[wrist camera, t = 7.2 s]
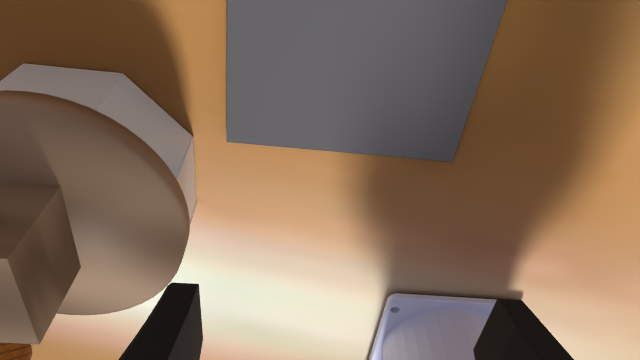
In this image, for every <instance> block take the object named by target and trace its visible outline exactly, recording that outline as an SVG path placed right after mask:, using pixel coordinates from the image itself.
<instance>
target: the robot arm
mask: <svg viewBox="0 0 640 360" xmlns="http://www.w3.org/2000/svg"><path fill="white" fill-rule="evenodd" d="M202 341H203V334H202V321H201V308H200V295H199V284H187V283H171V284H170V285H168V286H167V288H166V290H165V291H164V293H163V295H162V297H161V298H160V300H159V301H158V303H157V305H156V306H155V308H154V309H153V311H152V313H151V314H150V316H149V317H148V319H147V320H146V322H145V323H144V325H143V326H142V328H141V329H140V330H139V332H138V333H137V335H136V336H135V338H134V339H133V340H132V342H131V343H130V345H129V346H128V347H127V349H126V350H125V351H124V353H123V354H122V356H121V357H120V358H119V360H199V359H200V353H201V347H202ZM369 360H574V359H573V358H572V357H571V356H570V355H569V354H568V352H567V351H566V350H565V349H564V348H563V347H562V346H561V344H560V343H559V342H558V341H557V340H556V339H555V338H554V337H553V335H552V334H551V333H550V332H549V331H548V330H547V329H546V327H545V326H544V325H543V324H542V323H541V322H540V320H539V319H538V318H537V317H536V316H535V315H534V314H533V312H532V311H531V310H530V309H529V308H528V307H527V306H526V305H525V304H524V302H523V301H522V300H510V299H497V300H496V299H480V298H464V297H448V296H432V295H416V294H400V293H395V294H392V295H390V296H389V297H388V298H387V301H386V305H385V308H384V311H383V315H382V318H381V321H380V324H379V328H378V331H377V334H376V338H375V341H374V344H373V347H372V351H371V354H370V357H369Z"/></svg>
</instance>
